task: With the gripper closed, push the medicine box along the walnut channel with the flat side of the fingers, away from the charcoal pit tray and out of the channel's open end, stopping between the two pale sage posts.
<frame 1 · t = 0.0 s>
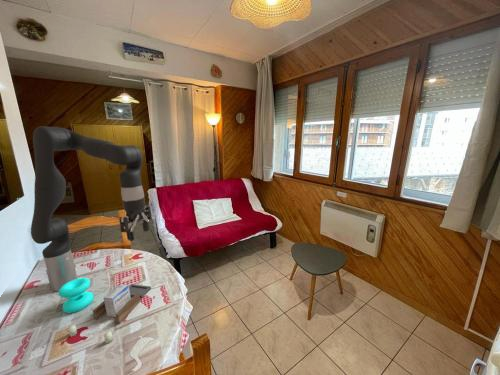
hand: (139, 235, 82), 29 cm above the table, fingers open, 8 cm apart
turquoise spool: (79, 305, 84), on the table
exit gate: (91, 337, 70), on the table
channel: (118, 309, 81), on the table
pit tray: (136, 292, 91), on the table
medicine box: (120, 309, 82), on the table
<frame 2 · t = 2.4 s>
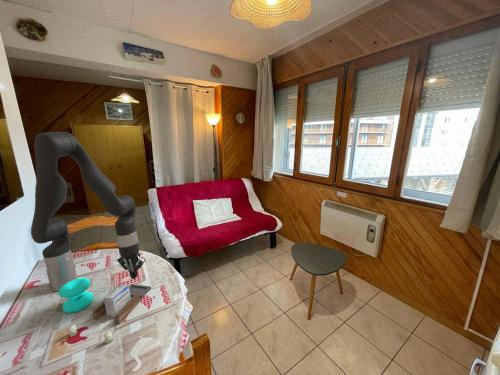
hand: (134, 277, 89), 8 cm above the table, fingers closed
nothing on the table moved.
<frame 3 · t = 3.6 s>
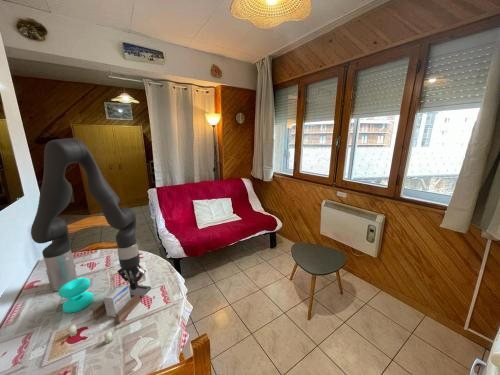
hand: (134, 288, 89), 2 cm above the table, fingers closed
nothing on the table moved.
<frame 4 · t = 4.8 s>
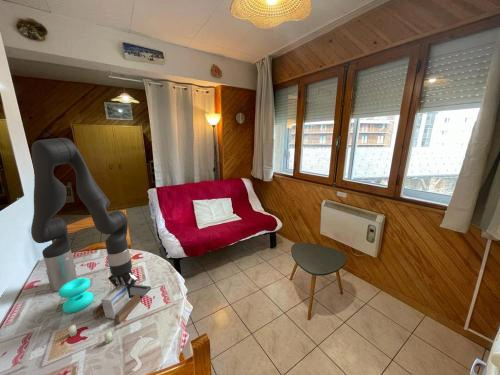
hand: (126, 295, 85), 3 cm above the table, fingers closed
medicine box: (118, 310, 81), on the table, touching gripper, hand
everything else where it was.
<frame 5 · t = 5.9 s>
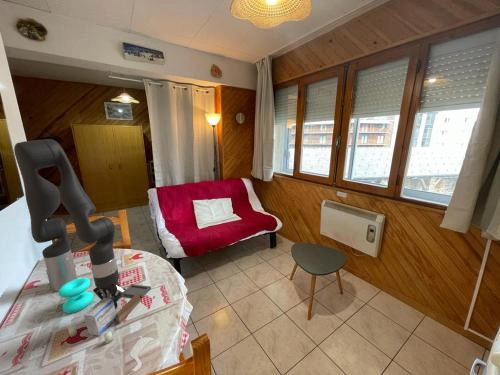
hand: (113, 309, 78), 3 cm above the table, fingers closed
medicine box: (103, 325, 74), on the table, touching gripper, hand
everything else where it was.
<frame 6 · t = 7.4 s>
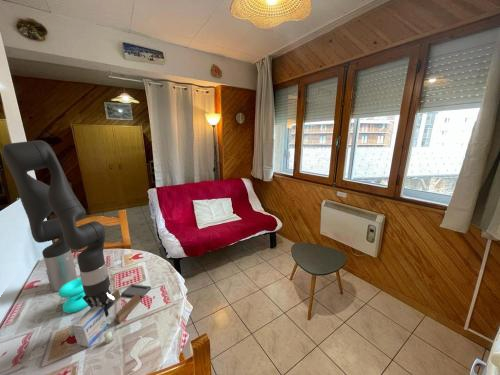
hand: (104, 317, 74), 3 cm above the table, fingers closed
medicine box: (94, 335, 70), on the table, touching gripper, hand
everything else where it was.
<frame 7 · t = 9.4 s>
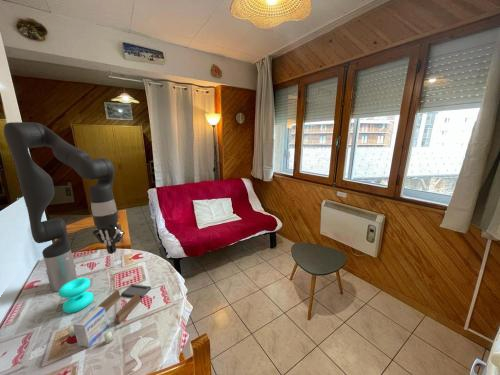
hand: (112, 252, 80), 24 cm above the table, fingers closed
medicine box: (94, 336, 70), on the table
everything else where it was.
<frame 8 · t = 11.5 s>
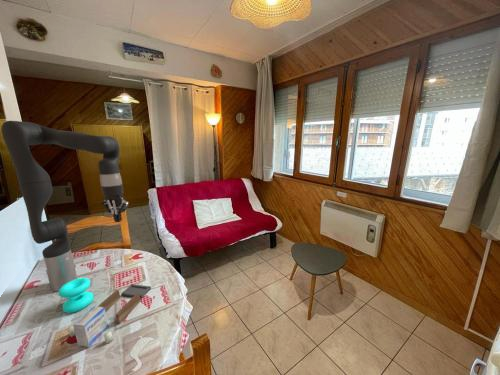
hand: (118, 221, 89), 32 cm above the table, fingers closed
nothing on the table moved.
at the end: medicine box inside the target area (2.1 cm from its centre), on the table; medicine box tilted 0° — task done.
